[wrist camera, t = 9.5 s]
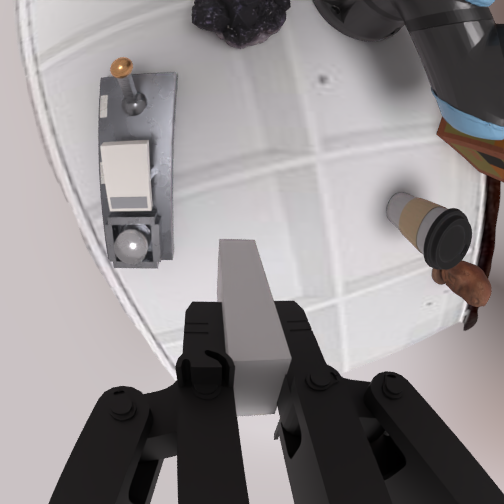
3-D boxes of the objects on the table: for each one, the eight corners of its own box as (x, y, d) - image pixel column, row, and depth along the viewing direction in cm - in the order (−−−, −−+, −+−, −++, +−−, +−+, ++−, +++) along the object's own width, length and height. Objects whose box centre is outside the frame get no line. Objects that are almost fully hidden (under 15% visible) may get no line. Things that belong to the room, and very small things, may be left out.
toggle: (125, 92, 29) (111, 54, 21) (143, 91, 29) (133, 51, 22) (121, 108, 29) (105, 71, 21) (140, 106, 29) (128, 68, 21)
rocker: (103, 142, 28) (99, 146, 27) (148, 139, 29) (146, 144, 28) (112, 206, 34) (109, 211, 33) (152, 205, 35) (151, 211, 34)
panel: (106, 79, 30) (92, 75, 25) (177, 74, 32) (173, 68, 27) (112, 251, 42) (102, 269, 37) (173, 252, 43) (170, 270, 39)
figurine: (436, 245, 52) (486, 276, 38) (461, 246, 54) (506, 274, 41) (424, 284, 55) (468, 320, 42) (449, 281, 58) (490, 313, 44)
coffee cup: (416, 227, 48) (468, 266, 35) (376, 236, 48) (426, 281, 35) (419, 180, 44) (479, 209, 31) (378, 184, 43) (437, 218, 30)
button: (120, 221, 37) (112, 233, 33) (150, 221, 37) (145, 233, 34) (123, 250, 39) (116, 264, 35) (152, 250, 39) (147, 264, 36)
